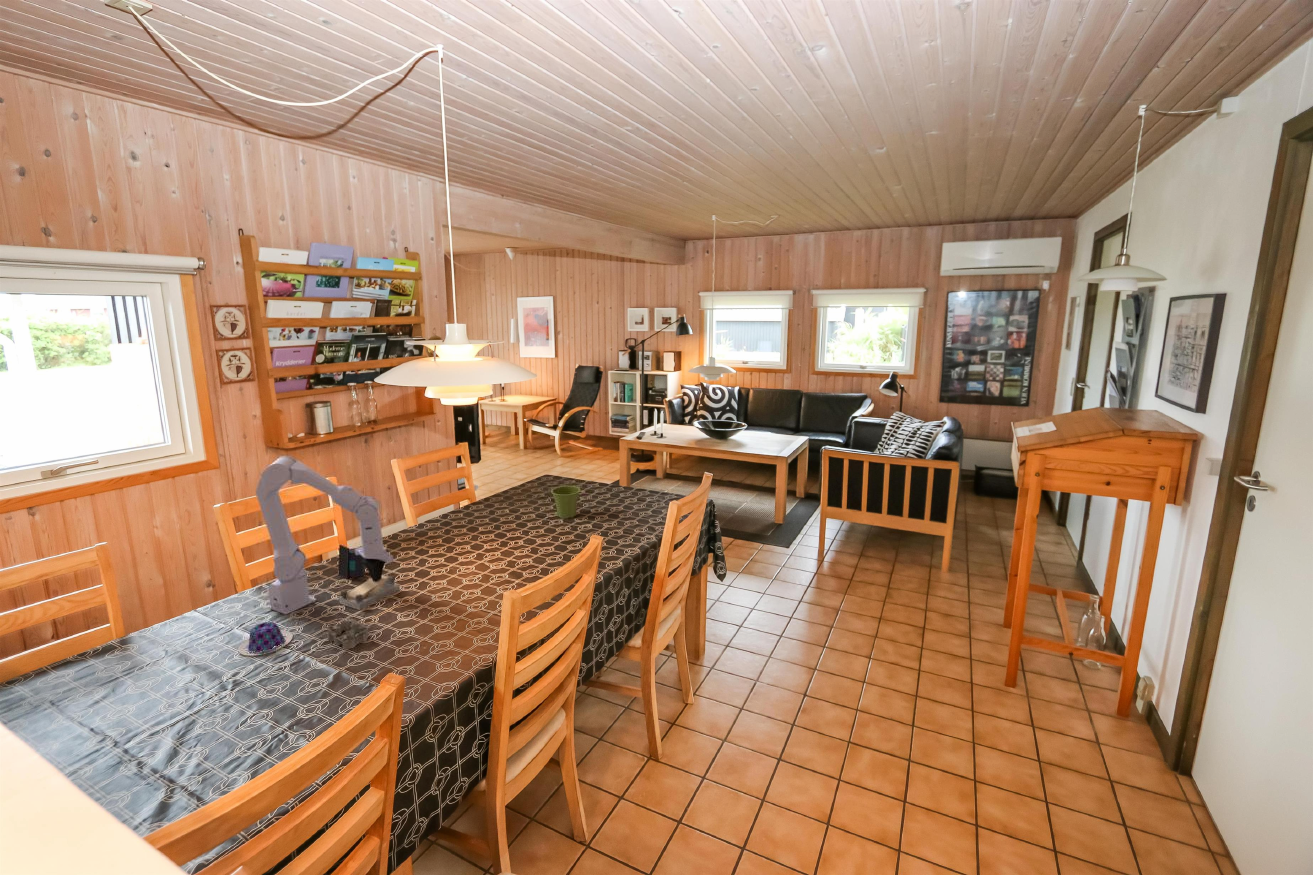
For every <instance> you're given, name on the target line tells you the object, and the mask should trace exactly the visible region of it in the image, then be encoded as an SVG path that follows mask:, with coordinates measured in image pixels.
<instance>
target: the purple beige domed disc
mask: <svg viewBox="0 0 1313 875" xmlns="http://www.w3.org/2000/svg"><path fill="white" fill-rule="evenodd" d="M283 635H284V636H286V637H287V638H284V637H283ZM292 639H293V633H292V632H291V631H288V630H283V629H280V627H279V625H278V624H277V623H275V622H273V621H269V622H267V621H265V622H261V623H259V624H256V625H255V626H254V627H252V628H251V629H250V632H249V638H248V639H246V640H245V641H243V642H242V643H241V644H240V646H239V647H238V652H239V653H240V654H241V655H244V656H259V655H262V654H247V653H245V649H243V648H245V646H246V645H247V644H248V642H249V645H248V647H249V648H247V650H249V651H255V652H260V651H263V650H269V649H272V648H273V647H274V646H278V645H280V644H281V645H282V644H283V642H284V641H285V640H286V642H285V643H284V644H283V646H282V647H281V648H283V647H285V646H286V645H288V644H289V643H290V642H291V641H292ZM283 640H284V641H283ZM278 647H279V646H278ZM281 648H280V649H281ZM272 650H273V649H272ZM277 650H278V649H276V650H273V651H271V652H268V653H264V654H263V655H265V654H269V653H272V652H275V651H277ZM255 652H254V653H255ZM263 652H264V651H263Z"/></svg>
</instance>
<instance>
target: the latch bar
mask: <svg viewBox="0 0 1313 875" xmlns="http://www.w3.org/2000/svg"><path fill="white" fill-rule="evenodd" d="M388 580H389V577H387V576H384V575H382V577H381V579H380V580H379V581H377V582H375V581H373V580H372V578H371V577H370V578H369V579H368V580H366V581H365V582H363V583H362V584H360V585H358V586H357V587H356V588H353V590H351V591H349V592H347V593H348V594H346V597H348V598H351V599H354V600H356V596H357V595H359V594H361V595H362V598H363V597H364V596H366V595H367V594H368V593H370V592H371V591H373V590H374V589H376V588H377V587H379V586H380V585H382V584H383V583H385V582H386V581H388Z"/></svg>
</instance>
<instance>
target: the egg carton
mask: <svg viewBox="0 0 1313 875" xmlns="http://www.w3.org/2000/svg"><path fill="white" fill-rule="evenodd" d="M323 628H324V629H327V631H328V632H327V633H326V637H327V641H328V642H334V644H335V645H337V646H340V645H342V648H343V649H344V650H346V649H353V648H355V647H356V645H357V644H358V643H365V642H366V641H368V638H369V630H368V629H369V628H370V626H366V624H364V623H363V622H359V621H357V620H356V619H355V618H350V619H347V620H345V621H343V620H342V622H341V623H339V622H338V623H337V624H336V626H335V627H333V626H332V625H328V626H327V625H324V626H323ZM343 631H345V634H343V635H341V634H342V633H343ZM358 632H359V633H358ZM337 636H339V637H337Z"/></svg>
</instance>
